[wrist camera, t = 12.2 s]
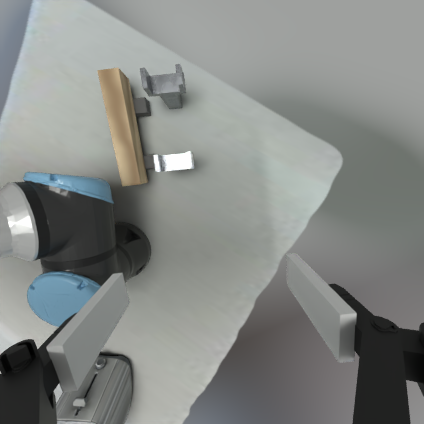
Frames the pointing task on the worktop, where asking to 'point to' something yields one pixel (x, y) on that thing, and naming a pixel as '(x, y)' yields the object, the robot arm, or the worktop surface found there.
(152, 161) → the sleeper
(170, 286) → the worktop surface
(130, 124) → the rail
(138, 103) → the sleeper
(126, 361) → the toaster
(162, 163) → the post
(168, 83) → the post
